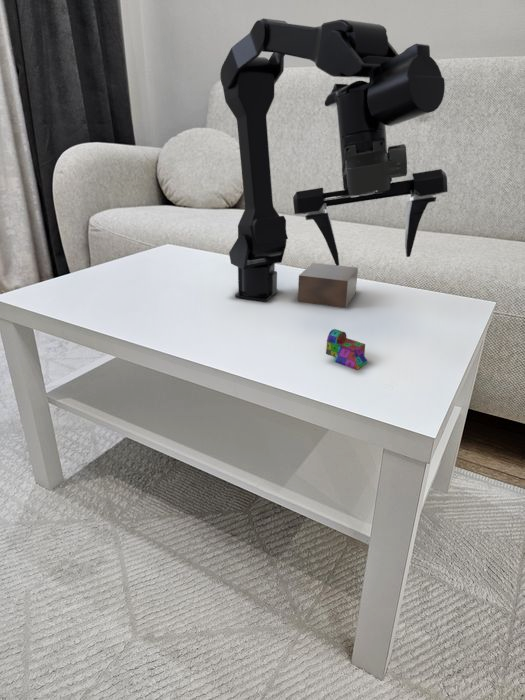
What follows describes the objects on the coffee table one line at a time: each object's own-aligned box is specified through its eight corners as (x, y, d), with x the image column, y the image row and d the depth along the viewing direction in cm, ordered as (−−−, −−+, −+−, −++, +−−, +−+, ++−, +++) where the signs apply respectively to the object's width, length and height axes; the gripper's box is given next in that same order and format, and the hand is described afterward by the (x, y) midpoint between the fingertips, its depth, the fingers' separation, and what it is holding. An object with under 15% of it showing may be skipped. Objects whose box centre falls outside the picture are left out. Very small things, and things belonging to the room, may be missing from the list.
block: (320, 356, 68) (322, 335, 66) (336, 347, 71) (338, 326, 69) (357, 370, 64) (359, 347, 63) (372, 359, 67) (374, 337, 65)
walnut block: (297, 301, 88) (298, 275, 86) (311, 286, 96) (312, 262, 93) (345, 307, 85) (347, 281, 83) (355, 292, 93) (358, 267, 90)
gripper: (280, 138, 54) (297, 276, 57) (454, 107, 50) (460, 256, 54) (291, 152, 64) (304, 267, 68) (435, 127, 61) (441, 250, 64)
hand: (372, 261), depth 63 cm, fingers open, 9 cm apart
